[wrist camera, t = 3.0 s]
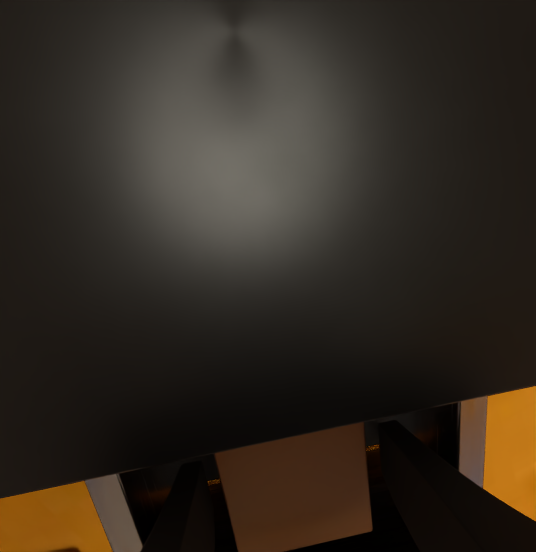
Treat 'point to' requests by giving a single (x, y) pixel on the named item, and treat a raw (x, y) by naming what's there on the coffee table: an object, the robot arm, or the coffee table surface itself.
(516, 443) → the coffee table surface
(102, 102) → the cabinet
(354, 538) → the drawer
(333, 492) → the brown block
